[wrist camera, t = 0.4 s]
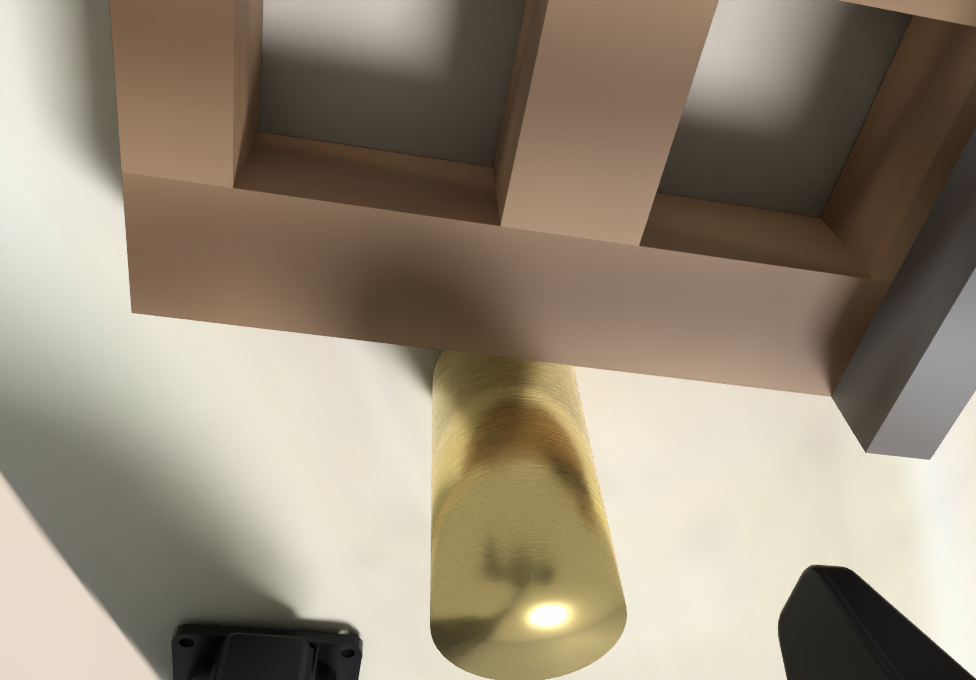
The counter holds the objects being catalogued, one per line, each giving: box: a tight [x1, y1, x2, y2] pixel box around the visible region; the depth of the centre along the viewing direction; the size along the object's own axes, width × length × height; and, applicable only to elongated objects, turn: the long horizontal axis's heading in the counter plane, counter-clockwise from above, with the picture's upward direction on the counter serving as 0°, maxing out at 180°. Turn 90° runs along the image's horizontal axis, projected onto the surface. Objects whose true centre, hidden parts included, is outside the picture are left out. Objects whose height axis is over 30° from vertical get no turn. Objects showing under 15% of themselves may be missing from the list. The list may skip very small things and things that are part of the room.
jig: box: [109, 0, 976, 460], centre depth 16 cm, size 12×18×5 cm, turn 79°
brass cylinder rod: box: [430, 350, 627, 680], centre depth 20 cm, size 4×4×8 cm
